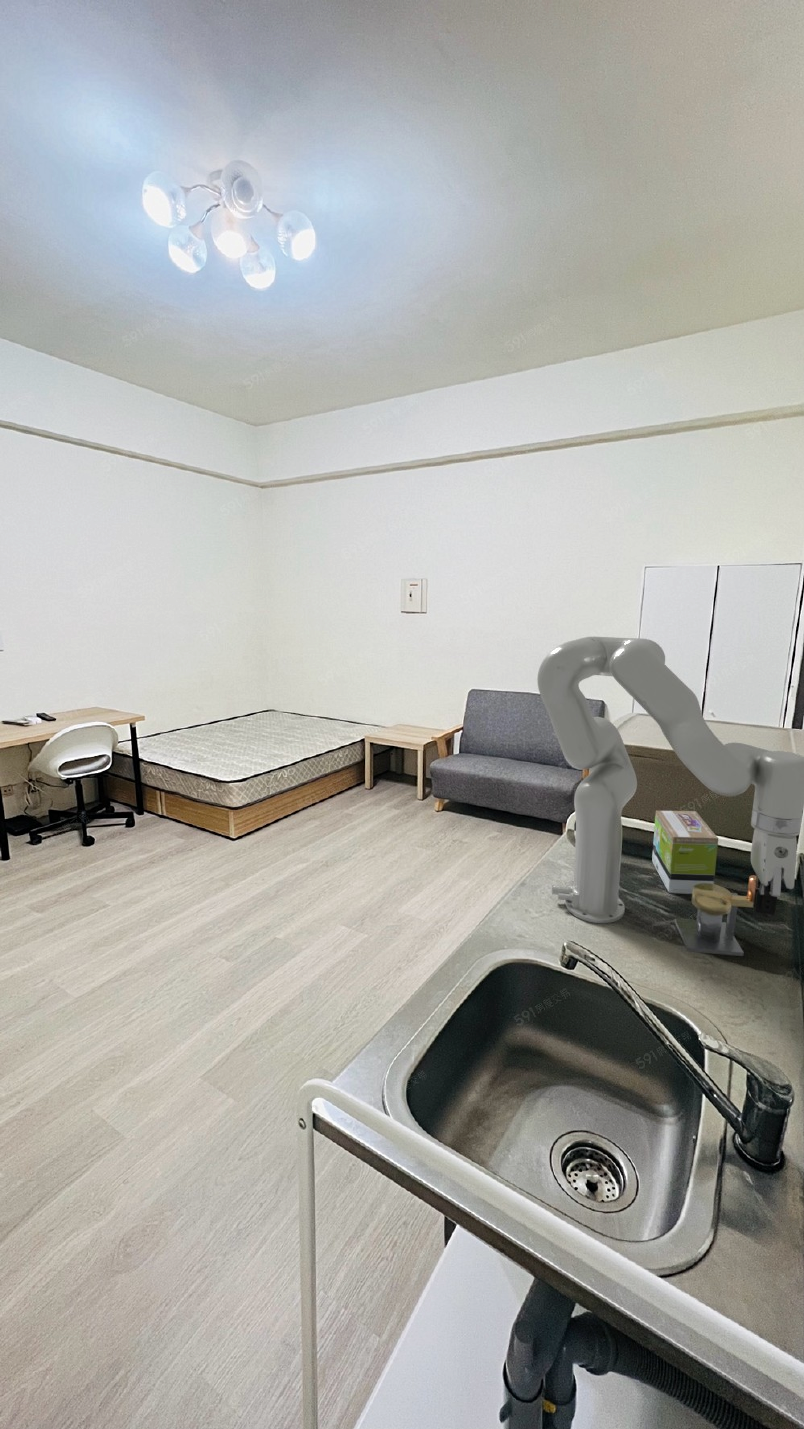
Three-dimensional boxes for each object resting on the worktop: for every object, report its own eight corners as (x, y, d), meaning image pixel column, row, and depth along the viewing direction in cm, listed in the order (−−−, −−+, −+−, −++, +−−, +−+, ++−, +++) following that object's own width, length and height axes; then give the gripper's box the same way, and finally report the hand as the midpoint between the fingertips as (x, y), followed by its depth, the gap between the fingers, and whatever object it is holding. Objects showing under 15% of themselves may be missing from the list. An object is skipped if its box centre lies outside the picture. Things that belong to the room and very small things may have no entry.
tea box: (650, 862, 149) (654, 808, 145) (691, 863, 147) (697, 809, 144) (667, 894, 134) (673, 835, 131) (714, 896, 133) (720, 837, 129)
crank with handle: (696, 913, 114) (700, 882, 112) (687, 893, 120) (690, 865, 119) (765, 919, 111) (770, 888, 110) (752, 899, 118) (756, 869, 116)
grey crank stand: (687, 951, 114) (692, 909, 112) (674, 921, 124) (678, 882, 122) (744, 956, 112) (750, 913, 110) (726, 925, 122) (731, 886, 120)
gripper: (815, 840, 96) (800, 938, 101) (787, 806, 110) (775, 893, 114) (763, 836, 98) (750, 931, 103) (742, 802, 112) (732, 888, 117)
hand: (763, 911), depth 109 cm, fingers closed
